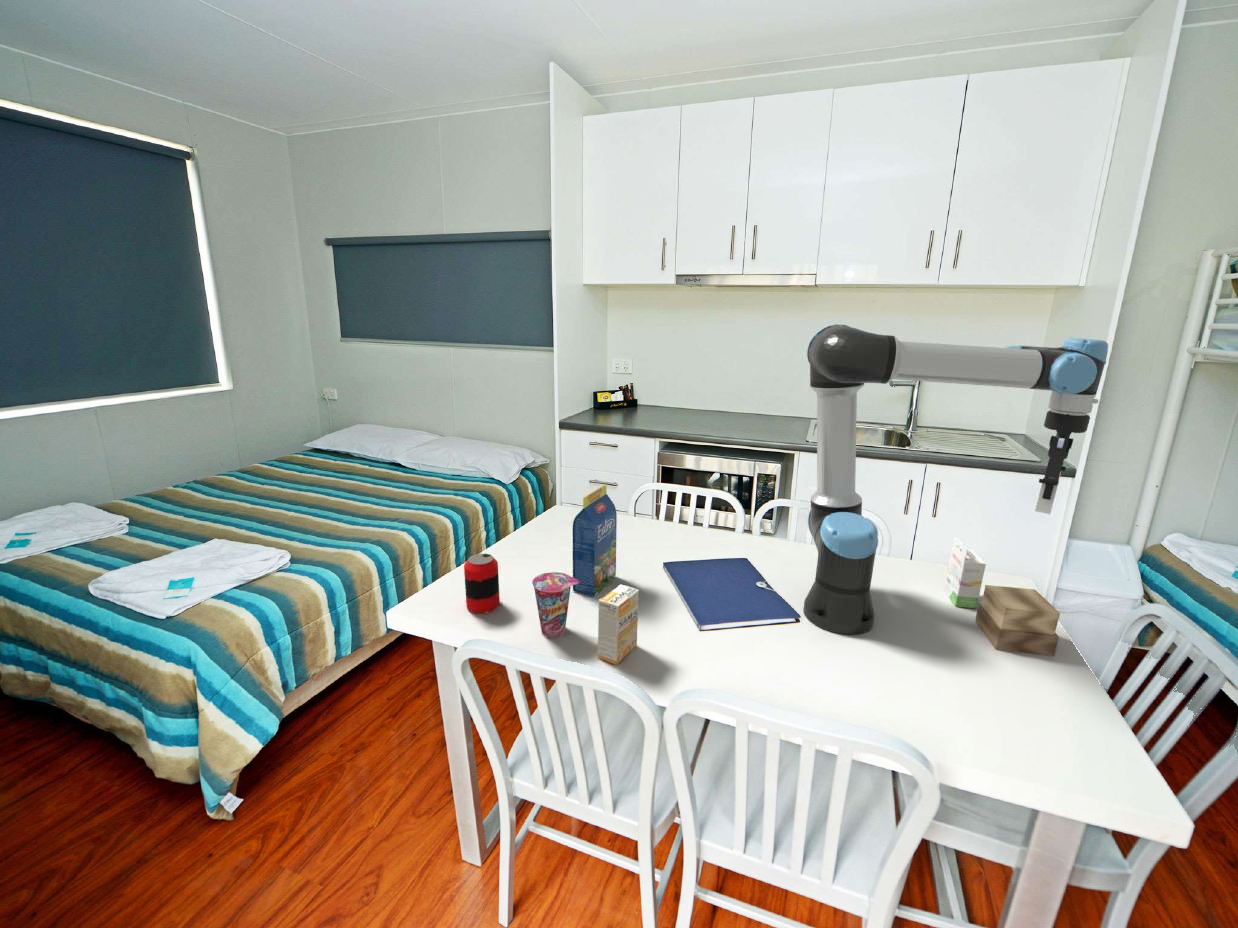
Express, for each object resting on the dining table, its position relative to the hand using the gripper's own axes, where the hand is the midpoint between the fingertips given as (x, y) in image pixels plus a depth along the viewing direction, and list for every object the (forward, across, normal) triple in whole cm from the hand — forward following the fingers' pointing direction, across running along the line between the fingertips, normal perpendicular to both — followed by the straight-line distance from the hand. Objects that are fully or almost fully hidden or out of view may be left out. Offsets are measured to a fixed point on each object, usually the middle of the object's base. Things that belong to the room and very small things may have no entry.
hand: (1044, 504), depth 130 cm
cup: (+28, -79, +77) cm, 114 cm away
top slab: (+22, -16, 0) cm, 27 cm away
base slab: (+27, -16, 0) cm, 31 cm away
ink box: (+27, -5, +12) cm, 29 cm away
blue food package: (+28, -58, +84) cm, 106 cm away
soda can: (+29, -82, +97) cm, 130 cm away
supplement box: (+28, -76, +61) cm, 102 cm away
